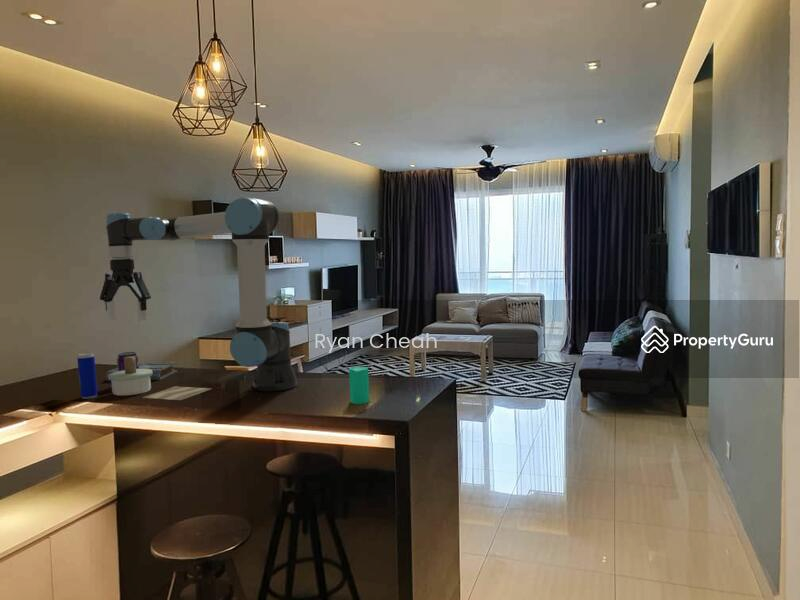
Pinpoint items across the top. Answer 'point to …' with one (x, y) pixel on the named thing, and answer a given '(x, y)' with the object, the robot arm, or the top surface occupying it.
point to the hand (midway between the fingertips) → (126, 320)
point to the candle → (359, 385)
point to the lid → (130, 371)
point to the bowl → (131, 386)
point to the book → (153, 370)
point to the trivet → (177, 393)
